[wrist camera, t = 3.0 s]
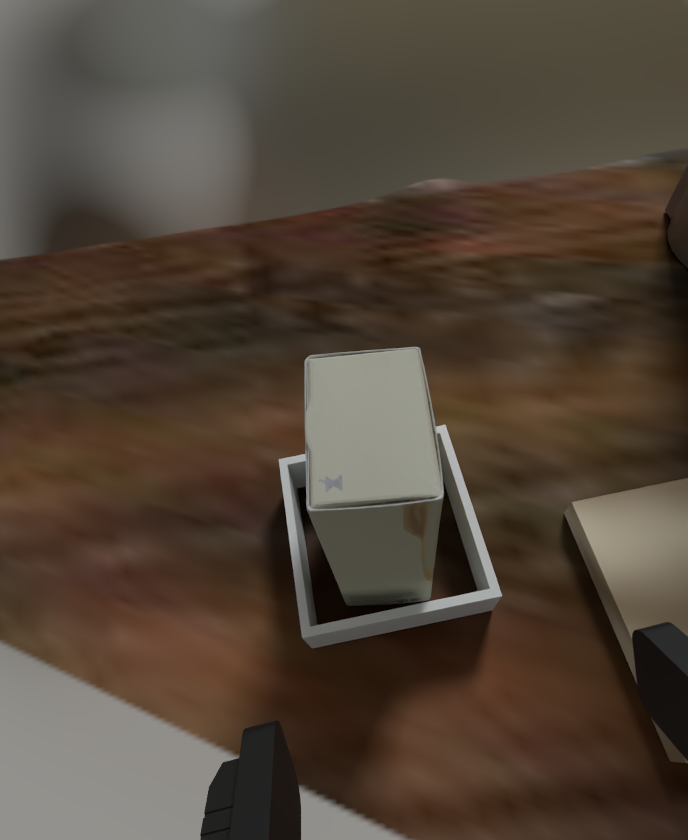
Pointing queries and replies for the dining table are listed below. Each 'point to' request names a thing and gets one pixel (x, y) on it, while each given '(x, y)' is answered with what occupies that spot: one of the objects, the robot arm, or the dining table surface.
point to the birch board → (637, 561)
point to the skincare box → (373, 472)
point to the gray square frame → (404, 616)
